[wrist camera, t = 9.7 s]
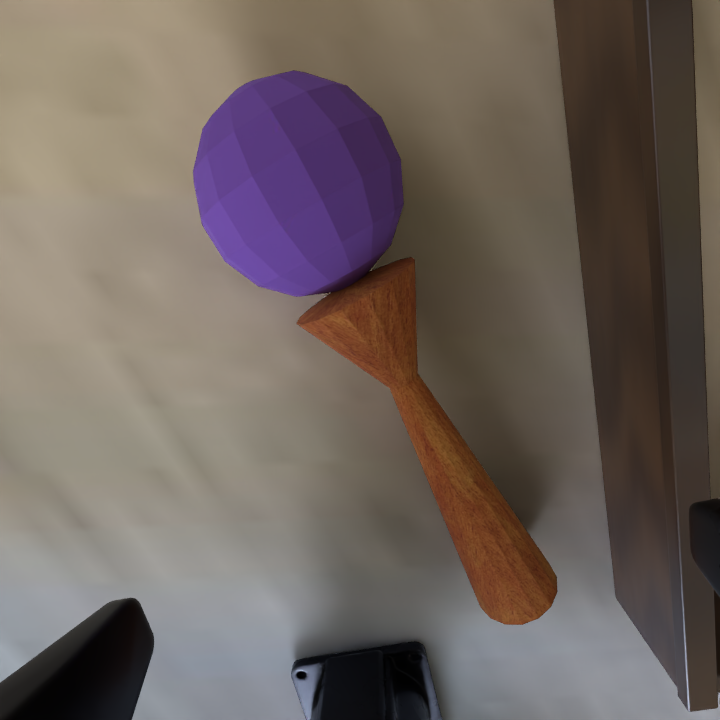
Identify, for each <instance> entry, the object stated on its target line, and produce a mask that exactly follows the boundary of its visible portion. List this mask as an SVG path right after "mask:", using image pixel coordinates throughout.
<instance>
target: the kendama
mask: <svg viewBox="0 0 720 720" xmlns="http://www.w3.org/2000/svg"><path fill="white" fill-rule="evenodd" d="M193 177H194V185H195V191H196V196H197V201H198V206H199V211H200V217H201V222H202V225H203V227H204V229H205V230H206V232H207V233H208V235H209V237H210V238H211V240H212V241H213V243H214V245H215V246H216V248H217V249H218V251H219V252H220V254H221V256H222V257H223V259H224V260H225V262H227V263H228V264H229V265H231V266H232V267H233V268H235V269H236V270H237V271H239V272H240V273H241V274H243V275H244V276H245V277H247V278H248V279H249V280H251V281H252V282H253V283H255V284H256V285H257V286H259V287H263V288H267V289H270V290H274V291H278V292H281V293H285V294H289V295H292V296H296V297H297V296H306V295H314V294H322V293H329V292H331V293H330V294H329V295H327V296H326V297H325V298H323V299H322V300H321V301H319V302H318V303H317V304H315V305H314V306H313V307H311V308H310V309H309V310H308V311H307V312H306V313H304V314H303V315H302V316H301V317H300V318H299V320H298V322H297V324H298V325H299V326H301V327H302V328H304V329H305V330H306V331H308V332H309V333H311V334H312V335H314V336H315V337H317V338H318V339H319V340H321V341H322V342H324V343H325V344H327V345H328V346H330V347H331V348H332V349H334V350H335V351H337V352H338V353H340V354H341V355H343V356H344V357H345V358H347V359H348V360H350V361H351V362H353V363H354V364H356V365H357V366H358V367H360V368H361V369H363V370H364V371H366V372H367V373H369V374H370V375H371V376H373V377H374V378H376V379H377V380H379V381H380V382H381V383H383V384H384V385H386V386H387V387H389V388H390V390H391V393H392V395H393V398H394V400H395V402H396V405H397V407H398V410H399V412H400V414H401V417H402V419H403V422H404V424H405V426H406V429H407V431H408V434H409V436H410V438H411V441H412V443H413V446H414V448H415V451H416V453H417V455H418V458H419V460H420V463H421V465H422V467H423V470H424V472H425V475H426V477H427V479H428V482H429V484H430V487H431V489H432V491H433V494H434V496H435V499H436V501H437V504H438V506H439V508H440V511H441V513H442V516H443V518H444V520H445V523H446V525H447V528H448V530H449V532H450V535H451V537H452V540H453V542H454V544H455V547H456V549H457V552H458V554H459V557H460V559H461V561H462V564H463V566H464V569H465V571H466V573H467V576H468V578H469V581H470V583H471V585H472V588H473V590H474V593H475V595H476V597H477V600H478V602H479V605H480V607H481V608H482V609H483V611H484V612H485V613H486V614H487V615H488V616H489V617H490V618H491V619H494V620H496V621H498V622H501V623H503V624H508V625H523V624H525V623H528V622H530V621H533V620H536V619H538V618H540V617H541V616H542V615H543V614H544V613H545V612H546V611H547V610H548V609H549V608H550V607H551V606H552V603H553V601H554V599H555V596H556V594H557V577H556V575H555V573H554V571H553V569H552V568H551V566H550V564H549V563H548V561H547V560H546V558H545V557H544V555H543V554H542V552H541V551H540V549H539V548H538V547H537V545H536V544H535V542H534V541H533V539H532V538H531V536H530V535H529V534H528V532H527V531H526V529H525V528H524V526H523V525H522V523H521V522H520V521H519V519H518V518H517V516H516V515H515V513H514V512H513V510H512V509H511V507H510V506H509V505H508V503H507V502H506V500H505V499H504V497H503V496H502V494H501V493H500V492H499V490H498V489H497V487H496V486H495V484H494V483H493V481H492V480H491V478H490V477H489V476H488V474H487V473H486V471H485V470H484V468H483V467H482V465H481V464H480V463H479V461H478V460H477V458H476V457H475V455H474V454H473V452H472V451H471V450H470V448H469V447H468V445H467V444H466V442H465V441H464V439H463V438H462V436H461V435H460V434H459V432H458V431H457V429H456V428H455V426H454V425H453V423H452V422H451V421H450V419H449V418H448V416H447V415H446V413H445V412H444V410H443V409H442V408H441V406H440V405H439V403H438V402H437V400H436V399H435V397H434V396H433V394H432V393H431V392H430V390H429V389H428V387H427V386H426V384H425V383H424V381H423V380H422V379H421V377H420V376H419V374H418V364H417V327H416V290H415V259H413V258H412V257H409V258H405V259H400V260H398V261H395V262H392V263H390V264H387V265H385V266H382V267H379V268H377V269H374V270H372V271H369V270H370V269H371V268H372V267H373V266H374V264H375V263H376V262H377V261H378V260H379V258H380V257H381V256H382V255H383V253H384V252H385V251H386V250H387V249H388V247H389V246H390V245H391V243H392V240H393V237H394V233H395V230H396V227H397V224H398V221H399V218H400V214H401V211H402V208H403V205H404V202H403V186H402V171H401V159H400V157H399V154H398V152H397V150H396V148H395V146H394V144H393V142H392V139H391V137H390V135H389V133H388V131H387V129H386V126H385V124H384V122H383V120H382V118H381V116H379V115H378V114H377V113H376V112H375V111H374V110H373V109H372V108H371V107H370V106H369V105H367V104H366V103H365V102H364V101H363V100H362V99H361V98H360V97H359V96H358V95H357V94H356V93H354V92H353V91H352V90H351V89H350V88H349V87H348V86H346V85H343V84H340V83H337V82H334V81H330V80H327V79H324V78H321V77H318V76H315V75H312V74H308V73H305V72H300V71H289V72H285V73H281V74H277V75H272V76H268V77H264V78H260V79H256V80H253V81H250V82H248V83H246V84H244V85H243V86H241V87H239V88H238V89H237V90H236V91H234V92H233V93H232V94H231V95H230V96H229V97H228V99H227V100H226V101H225V102H224V103H223V104H222V105H221V106H220V107H219V108H218V109H217V110H216V112H215V113H214V114H213V115H212V116H211V117H210V119H209V120H208V122H207V123H206V125H205V126H204V128H203V130H202V134H201V139H200V143H199V148H198V152H197V157H196V161H195V165H194V170H193Z"/></svg>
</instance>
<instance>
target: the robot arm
mask: <svg viewBox="0 0 720 720" xmlns="http://www.w3.org/2000/svg"><path fill="white" fill-rule="evenodd" d="M689 535H690V550H691V554H692V557H693V559H694V561H695V563H696V565H697V566H698V568H699V569H700V571H701V572H702V573H703V575H704V576H705V578H706V579H707V580H708V582H709V583H710V585H711V586H712V587H713V589H714V590H715V591H716V593H717V594H718V596H719V597H720V499H712V500H706V501H700V502H695V503H693V504H692V505H691V506H690V508H689ZM153 648H154V636H153V633H152V630H151V628H150V625H149V623H148V621H147V618H146V616H145V614H144V611H143V609H142V607H141V604H140V603H139V601H138V600H136V599H135V598H127V599H121V600H115V601H111V602H109V603H107V604H106V605H105V606H103V607H102V608H100V609H99V610H98V611H96V612H95V613H94V614H92V615H91V616H90V617H88V618H87V619H86V620H84V621H83V622H82V623H80V624H79V625H78V626H76V627H75V628H74V629H72V630H71V631H69V632H68V633H67V634H65V635H64V636H63V637H61V638H60V639H59V640H57V641H56V642H55V643H53V644H52V645H51V646H49V647H48V648H47V649H45V650H44V651H42V652H41V653H40V654H38V655H37V656H36V657H34V658H33V659H32V660H30V661H29V662H28V663H26V664H25V665H24V666H22V667H21V668H20V669H18V670H17V671H16V672H14V673H13V674H11V675H10V676H9V677H7V678H6V679H5V680H3V681H2V682H1V683H0V720H132V717H133V714H134V711H135V707H136V704H137V701H138V698H139V695H140V691H141V688H142V685H143V682H144V679H145V676H146V672H147V669H148V666H149V663H150V660H151V656H152V653H153ZM291 676H292V679H293V682H294V685H295V688H296V691H297V694H298V697H299V700H300V703H301V705H302V708H303V711H304V714H305V717H306V720H442V716H441V712H440V708H439V704H438V700H437V696H436V692H435V688H434V684H433V680H432V675H431V671H430V667H429V663H428V659H427V655H426V651H425V648H424V646H423V645H422V644H421V643H419V642H408V643H401V644H395V645H389V646H382V647H376V648H369V649H363V650H356V651H350V652H344V653H337V654H331V655H324V656H318V657H311V658H305V659H299V660H297V661H295V662H294V664H293V667H292V672H291Z"/></svg>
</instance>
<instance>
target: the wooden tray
mask: <svg viewBox="0 0 720 720" xmlns="http://www.w3.org/2000/svg"><path fill="white" fill-rule="evenodd" d="M554 8H555V17H556V27H557V37H558V46H559V56H560V65H561V75H562V85H563V94H564V104H565V113H566V123H567V133H568V142H569V152H570V161H571V171H572V181H573V190H574V200H575V209H576V219H577V229H578V238H579V248H580V257H581V267H582V277H583V286H584V296H585V305H586V315H587V325H588V334H589V344H590V353H591V363H592V373H593V382H594V392H595V401H596V411H597V421H598V430H599V440H600V449H601V459H602V469H603V478H604V488H605V497H606V507H607V517H608V526H609V536H610V545H611V555H612V565H613V574H614V584H615V593H616V599H617V600H618V602H619V603H620V605H621V606H622V608H623V609H624V610H625V612H626V613H627V615H628V616H629V618H630V619H631V621H632V622H633V624H634V625H635V627H636V628H637V629H638V631H639V632H640V634H641V635H642V637H643V638H644V640H645V641H646V643H647V644H648V646H649V647H650V648H651V650H652V651H653V653H654V654H655V656H656V657H657V659H658V660H659V662H660V663H661V665H662V666H663V667H664V669H665V670H666V672H667V673H668V675H669V676H670V678H671V679H672V681H673V682H674V684H675V685H676V686H677V690H678V696H679V698H680V699H681V701H682V702H683V704H684V705H685V707H686V708H687V710H688V711H689V712H692V711H699V710H707V709H714V708H718V693H720V597H719V596H718V594H717V593H716V591H715V590H714V589H713V587H712V586H711V585H710V583H709V582H708V580H707V579H706V578H705V576H704V575H703V573H702V572H701V571H700V569H699V568H698V566H697V565H696V563H695V561H694V559H693V557H692V554H691V550H690V535H689V508H690V506H691V505H692V504H693V503H695V502H700V501H706V500H710V473H709V446H708V419H707V392H706V364H705V337H704V310H703V282H702V255H701V228H700V200H699V173H698V146H697V119H696V91H695V64H694V37H693V9H692V0H554Z"/></svg>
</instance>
